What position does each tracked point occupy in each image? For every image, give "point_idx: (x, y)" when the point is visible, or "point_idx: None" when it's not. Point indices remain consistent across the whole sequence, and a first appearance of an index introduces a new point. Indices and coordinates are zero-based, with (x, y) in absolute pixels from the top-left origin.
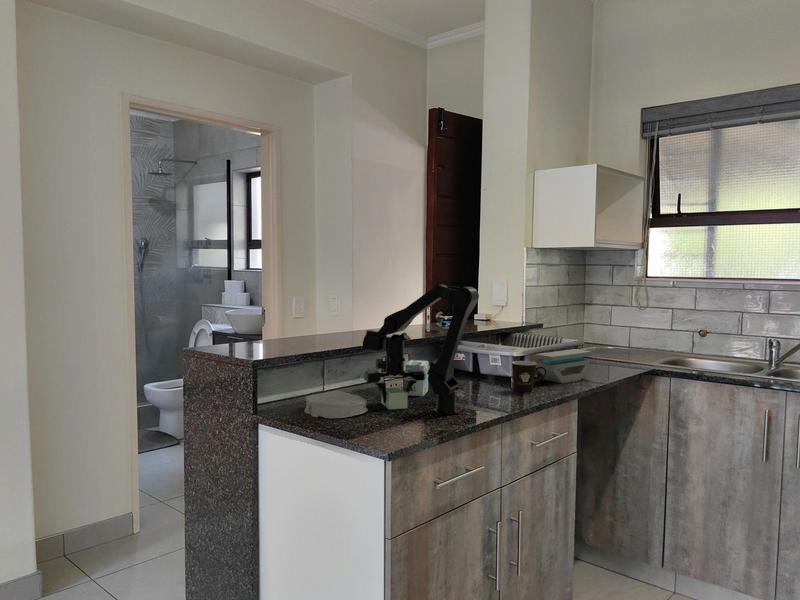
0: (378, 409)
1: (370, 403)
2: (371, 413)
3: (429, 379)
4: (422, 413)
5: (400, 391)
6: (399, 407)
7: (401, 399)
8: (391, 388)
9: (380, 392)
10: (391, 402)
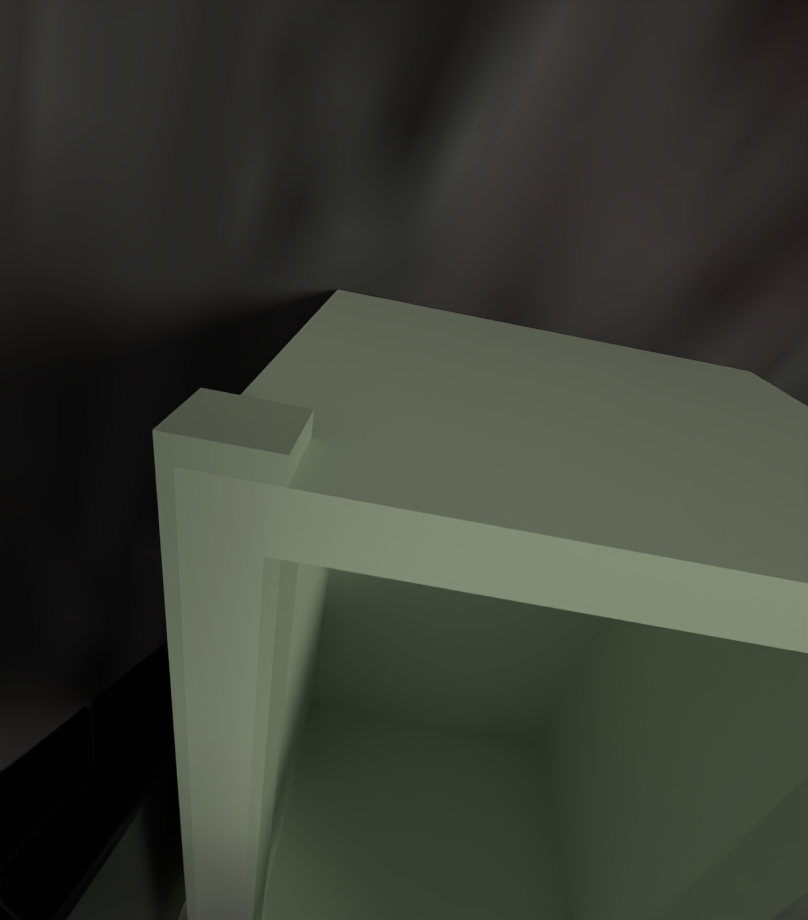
0: (150, 648)
1: (80, 243)
2: (30, 738)
3: None
4: None
5: (763, 785)
6: (440, 738)
7: (474, 879)
8: (691, 599)
9: (94, 715)
10: (305, 803)
